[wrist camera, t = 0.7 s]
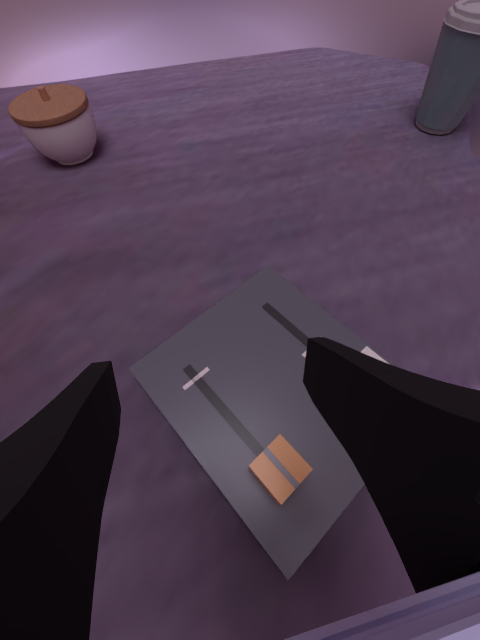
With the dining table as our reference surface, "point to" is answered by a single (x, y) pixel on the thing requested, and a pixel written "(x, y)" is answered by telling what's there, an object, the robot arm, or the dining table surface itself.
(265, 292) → the mixer board
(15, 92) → the dining table surface
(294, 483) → the fader orange
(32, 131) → the lidded jar
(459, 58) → the disposable coffee cup
